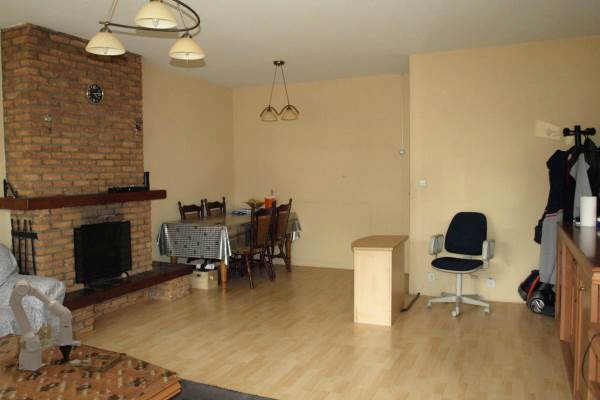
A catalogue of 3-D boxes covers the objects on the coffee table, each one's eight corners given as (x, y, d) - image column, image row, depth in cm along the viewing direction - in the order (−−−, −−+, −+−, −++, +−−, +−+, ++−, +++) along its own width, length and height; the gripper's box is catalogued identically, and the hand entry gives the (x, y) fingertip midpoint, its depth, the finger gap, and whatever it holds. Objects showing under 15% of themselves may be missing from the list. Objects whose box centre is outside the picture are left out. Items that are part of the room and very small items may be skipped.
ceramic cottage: (60, 340, 271) (57, 315, 270) (44, 352, 255) (41, 326, 254) (33, 342, 272) (30, 317, 270) (16, 354, 255) (12, 327, 254)
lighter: (69, 364, 238) (77, 368, 233) (69, 361, 238) (77, 365, 233) (82, 360, 243) (91, 364, 239) (82, 357, 243) (91, 360, 239)
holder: (79, 369, 232) (78, 364, 232) (98, 357, 247) (98, 353, 247) (103, 372, 229) (103, 367, 229) (122, 360, 244) (121, 355, 244)
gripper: (47, 336, 237) (48, 362, 238) (76, 336, 237) (77, 362, 238) (54, 331, 244) (55, 356, 245) (82, 331, 245) (83, 356, 245)
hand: (66, 359), depth 242 cm, fingers closed
